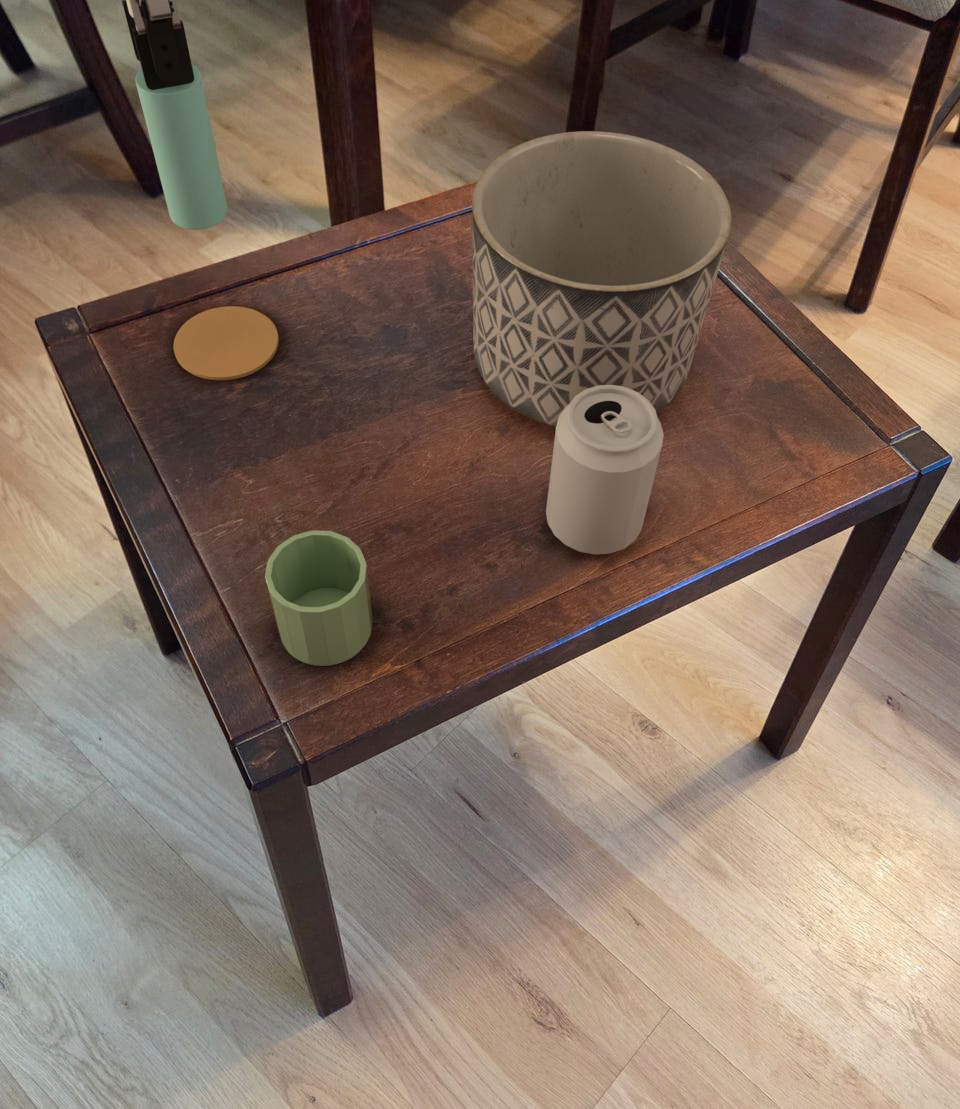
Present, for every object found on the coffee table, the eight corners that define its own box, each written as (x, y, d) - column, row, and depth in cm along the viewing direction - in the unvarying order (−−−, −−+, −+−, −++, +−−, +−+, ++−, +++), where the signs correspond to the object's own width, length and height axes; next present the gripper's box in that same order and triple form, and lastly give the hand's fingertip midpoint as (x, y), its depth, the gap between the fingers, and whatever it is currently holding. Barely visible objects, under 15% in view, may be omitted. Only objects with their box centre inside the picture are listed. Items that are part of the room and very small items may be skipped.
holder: (293, 678, 73) (280, 624, 67) (269, 603, 76) (254, 546, 71) (384, 649, 74) (378, 594, 69) (356, 577, 78) (349, 519, 72)
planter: (468, 448, 86) (472, 287, 72) (468, 291, 97) (471, 128, 84) (704, 450, 86) (750, 291, 73) (676, 294, 97) (712, 132, 84)
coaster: (186, 391, 89) (185, 387, 88) (165, 322, 94) (164, 319, 93) (290, 365, 91) (289, 362, 90) (264, 300, 96) (263, 296, 95)
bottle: (176, 235, 80) (118, 9, 66) (164, 201, 82) (106, -24, 68) (233, 223, 80) (188, -3, 67) (220, 190, 83) (174, -35, 69)
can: (603, 471, 85) (623, 361, 75) (661, 535, 81) (690, 428, 71) (526, 509, 82) (536, 400, 72) (582, 576, 78) (601, 471, 69)
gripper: (2, -297, 61) (90, 21, 75) (39, -189, 52) (131, 147, 67) (133, -310, 62) (195, 4, 77) (191, -207, 53) (248, 125, 68)
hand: (165, 68), depth 72 cm, fingers closed on bottle, 3 cm apart
